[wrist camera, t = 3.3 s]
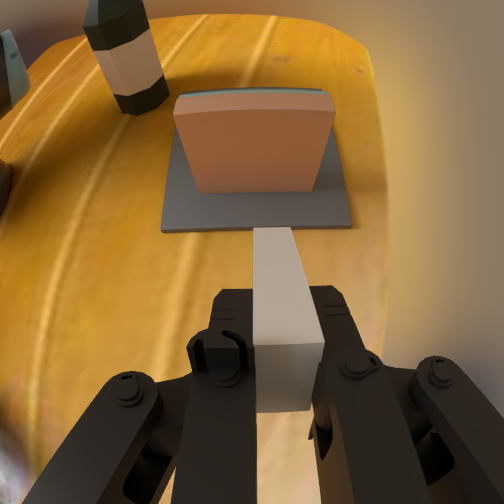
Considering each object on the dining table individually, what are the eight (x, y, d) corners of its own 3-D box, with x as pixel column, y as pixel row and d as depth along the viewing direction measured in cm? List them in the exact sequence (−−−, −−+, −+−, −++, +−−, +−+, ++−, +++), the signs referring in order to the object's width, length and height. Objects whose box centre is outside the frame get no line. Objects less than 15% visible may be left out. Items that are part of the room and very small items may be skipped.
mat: (350, 228, 29) (352, 225, 29) (162, 232, 30) (160, 229, 29) (320, 93, 36) (321, 89, 36) (184, 96, 37) (183, 92, 36)
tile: (311, 191, 30) (335, 111, 19) (199, 194, 30) (172, 115, 19) (309, 173, 31) (329, 92, 19) (201, 175, 31) (177, 95, 20)
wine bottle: (113, 119, 36) (38, -44, 8) (129, 85, 39) (76, -61, 10) (162, 112, 36) (104, -77, 7) (175, 79, 38) (136, -84, 10)
